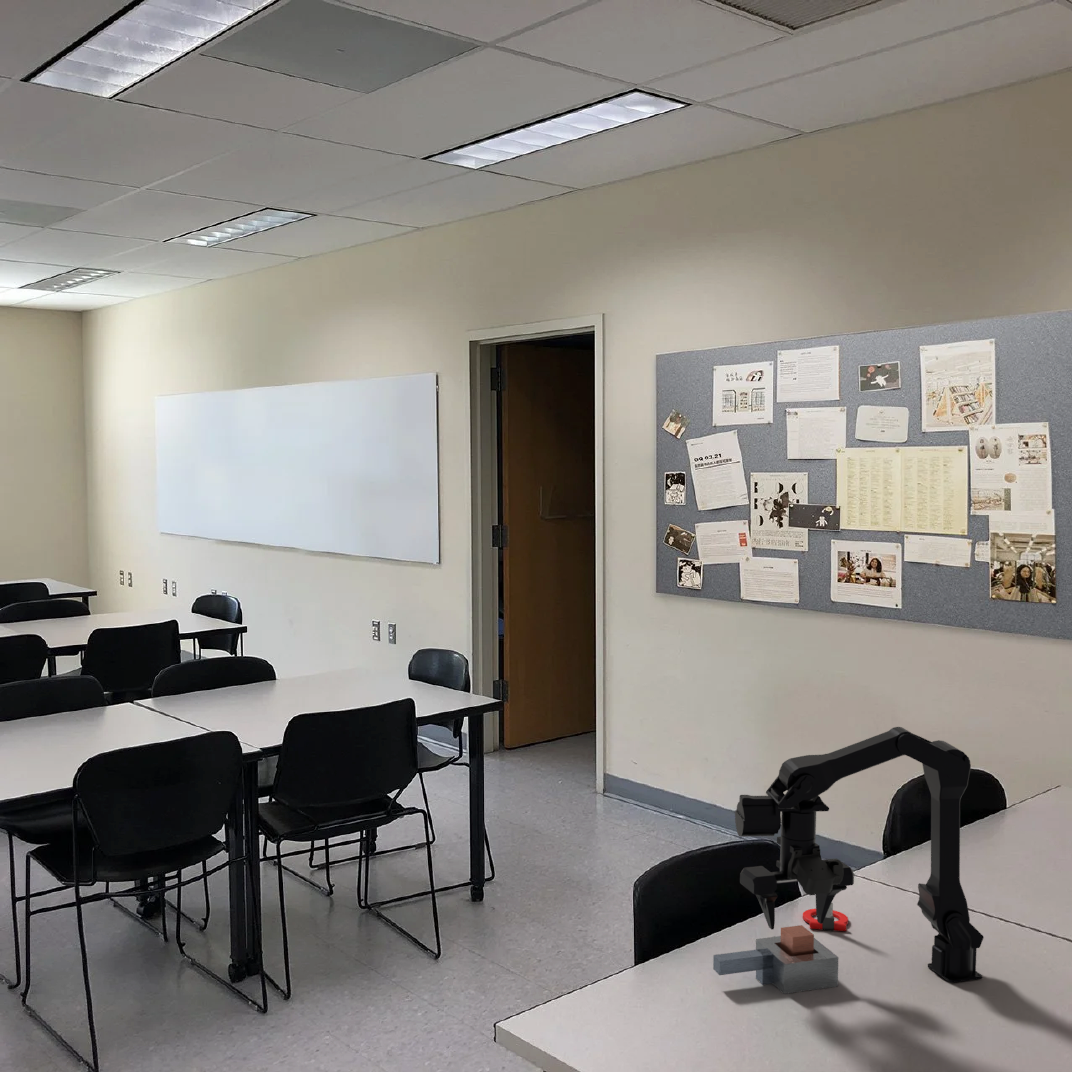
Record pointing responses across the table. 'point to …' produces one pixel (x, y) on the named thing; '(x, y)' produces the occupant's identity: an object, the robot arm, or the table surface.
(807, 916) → the tow hook
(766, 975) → the square frame with handle
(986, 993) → the table surface
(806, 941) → the square peg
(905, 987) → the table surface
